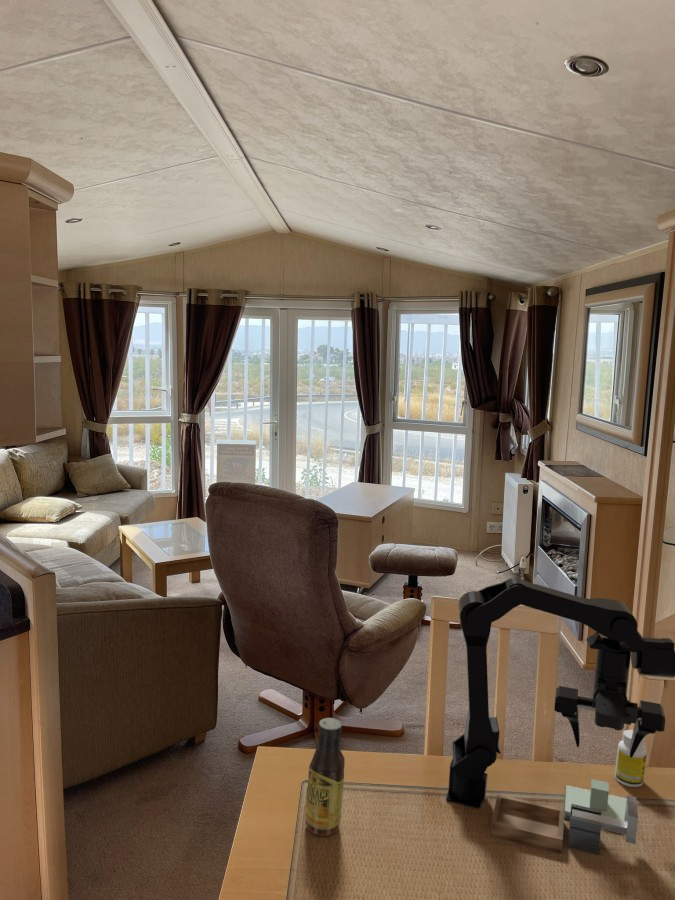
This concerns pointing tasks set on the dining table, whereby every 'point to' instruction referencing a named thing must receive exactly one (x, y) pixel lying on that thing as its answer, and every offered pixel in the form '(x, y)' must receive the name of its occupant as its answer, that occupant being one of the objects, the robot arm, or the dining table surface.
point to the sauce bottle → (326, 781)
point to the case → (528, 823)
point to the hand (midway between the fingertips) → (604, 751)
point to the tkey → (617, 825)
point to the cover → (596, 800)
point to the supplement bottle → (630, 762)
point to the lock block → (584, 831)
